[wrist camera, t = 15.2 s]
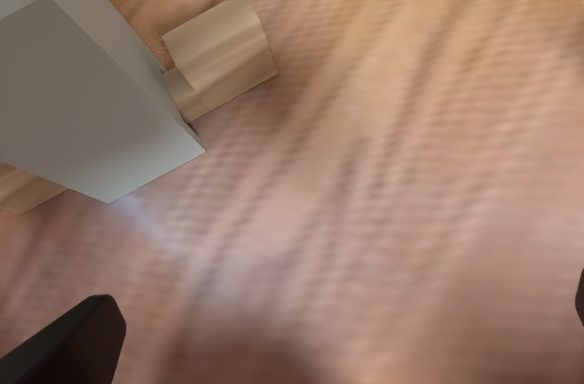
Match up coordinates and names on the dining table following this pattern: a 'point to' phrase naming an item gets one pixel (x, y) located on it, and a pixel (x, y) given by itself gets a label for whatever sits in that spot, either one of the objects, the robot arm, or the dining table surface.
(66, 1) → the pale grey upright block
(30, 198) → the slotted board
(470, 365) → the dining table surface
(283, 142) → the dining table surface
